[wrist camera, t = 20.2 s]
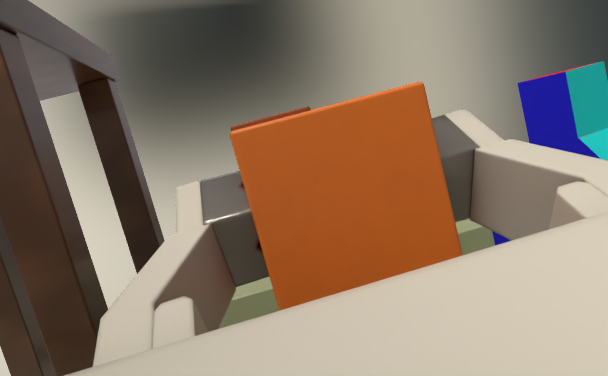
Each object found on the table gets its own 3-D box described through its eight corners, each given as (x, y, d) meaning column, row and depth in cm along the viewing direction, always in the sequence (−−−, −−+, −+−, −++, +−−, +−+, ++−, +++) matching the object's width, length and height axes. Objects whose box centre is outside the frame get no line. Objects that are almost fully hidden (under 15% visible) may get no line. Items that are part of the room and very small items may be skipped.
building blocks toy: (499, 226, 62) (470, 93, 60) (721, 256, 39) (686, 40, 37) (381, 274, 56) (344, 127, 54) (559, 344, 33) (506, 90, 30)
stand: (-66, 829, 15) (-408, 50, 12) (78, 517, 28) (-72, 99, 25) (228, 718, 16) (-23, -34, 13) (237, 465, 29) (112, 54, 26)
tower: (256, 333, 8) (183, 81, 8) (251, 201, 28) (231, 127, 28) (492, 262, 9) (438, 17, 8) (324, 181, 28) (305, 108, 28)
